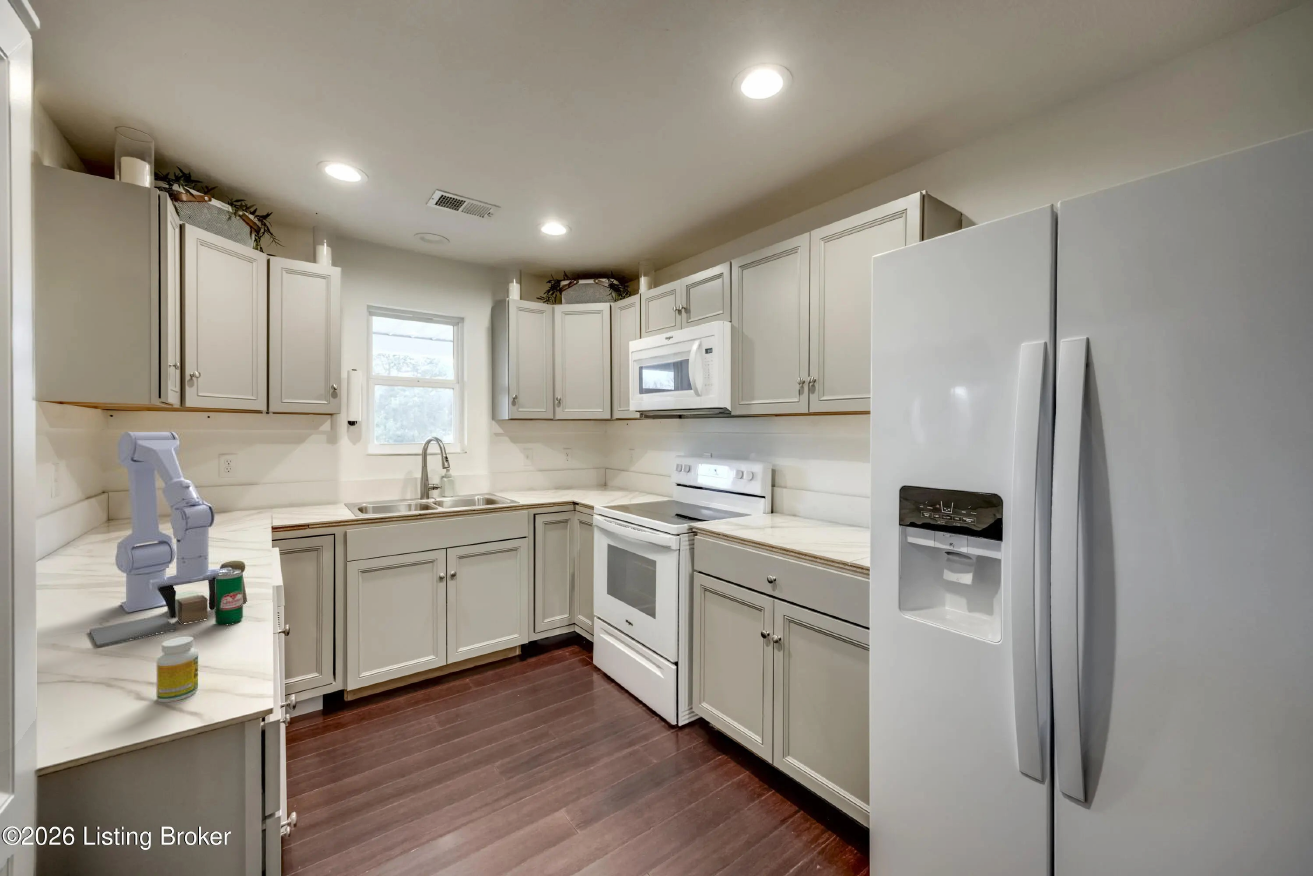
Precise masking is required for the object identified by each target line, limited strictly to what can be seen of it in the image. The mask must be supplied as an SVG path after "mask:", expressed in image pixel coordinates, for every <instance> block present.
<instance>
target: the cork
mask: <svg viewBox="0 0 1313 876" xmlns="http://www.w3.org/2000/svg"><path fill="white" fill-rule="evenodd" d="M223 568H231V569H239V570H241V573H242V574H243V573H244V572H245V570H246V564H245V562H244V561H242V560H230V561H226V562H223V563H222V564H221V565H220V567H219V569H223ZM243 575H244V574H243ZM246 602H247V603H248V597H247V592H246V584H245V578H244V577H243V605H245V604H247V603H246Z"/></svg>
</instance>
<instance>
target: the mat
mask: <svg viewBox="0 0 1313 876" xmlns="http://www.w3.org/2000/svg"><path fill="white" fill-rule="evenodd" d="M171 630H174V631H175V630H176V627H175V626H174V624H172V623H171V621H170V620H169V619H168V618H167V617H166V615H164V614H159V615H154V616H150V617H145V618H144V617H143V618H140V619H133V620H129V621H125V622H120V623H115V624H114V623H113V624H109V625H105V626H100V627H95V628H91V629H89V634H90V633H91V634H90V636H91V638H92V640H93V639H94V640H93V642H94V644H95V643H96V644H95V646H96V645H97V646H96V647H98V648H102V647H101V646H103V647H106V645H107V646H110V645H109V644H112V645H115V644H114V643H116V644H120V643H123V642H122V641H125V642H127V641H126V640H129V641H131V640H130V639H134V640H136V638H138V639H140V638H139V637H143V636H147V637H150V636H149V635H151V636H153V635H152V634H156V633H160V634H162V633H161V632H165V633H167V632H166V631H169V632H172V631H171ZM156 635H157V634H156ZM143 638H144V637H143ZM119 642H120V643H119Z"/></svg>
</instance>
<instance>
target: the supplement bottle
mask: <svg viewBox="0 0 1313 876" xmlns="http://www.w3.org/2000/svg"><path fill="white" fill-rule="evenodd" d="M193 646H194V638H193V637H192V636H179V637H175V638H171V639H168V640H166V641H164V642H162V644H161V652H162V654H161V655H159V657H157V660H156V691H155V692H156V693H155V694H156V695H155V696H156V699H157V701H158V702H160V703H173V702H178V701H181V700H184V699H187V698H189V697H191V696H193V695H194V694H195V693H196V692H197V691H198V689H199V652H198V650H197V649H196V648H194V647H193ZM192 694H193V695H192Z"/></svg>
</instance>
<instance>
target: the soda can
mask: <svg viewBox="0 0 1313 876" xmlns="http://www.w3.org/2000/svg"><path fill="white" fill-rule="evenodd" d="M217 574H218V575H217V576H216V578H215V609H214V610H215V611H214V612H215V613H214V615H215V616H214V618H215V619H214V622H215V624H217V625H218V626H230V625H229V624H231V625H233V624H232V623H235V624H237V623H239V622H240V621H242V620H243V618H244V604H243V578H244V574H242V573H241V570H239V569H231V570H224V571H221V572H218V573H217ZM236 622H237V623H236ZM227 624H228V625H227Z"/></svg>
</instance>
